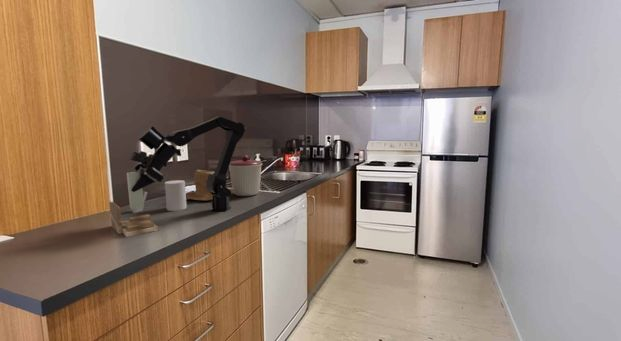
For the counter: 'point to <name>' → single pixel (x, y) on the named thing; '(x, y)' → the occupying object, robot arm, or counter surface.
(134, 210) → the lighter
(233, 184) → the canister
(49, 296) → the counter surface
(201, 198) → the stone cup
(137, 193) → the pale green upright block
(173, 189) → the cup
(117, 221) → the rack
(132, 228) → the offcut stack
